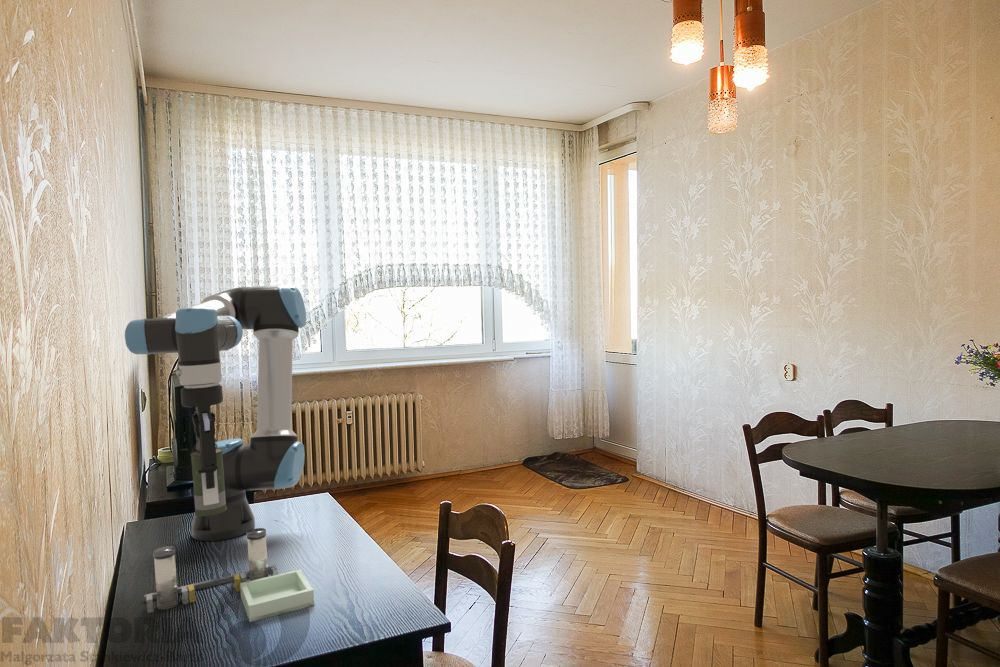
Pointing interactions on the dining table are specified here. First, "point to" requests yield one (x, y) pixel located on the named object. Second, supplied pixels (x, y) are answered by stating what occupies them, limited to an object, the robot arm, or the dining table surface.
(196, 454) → the grenade
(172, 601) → the fuse rail
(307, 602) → the tray
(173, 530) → the dining table surface
